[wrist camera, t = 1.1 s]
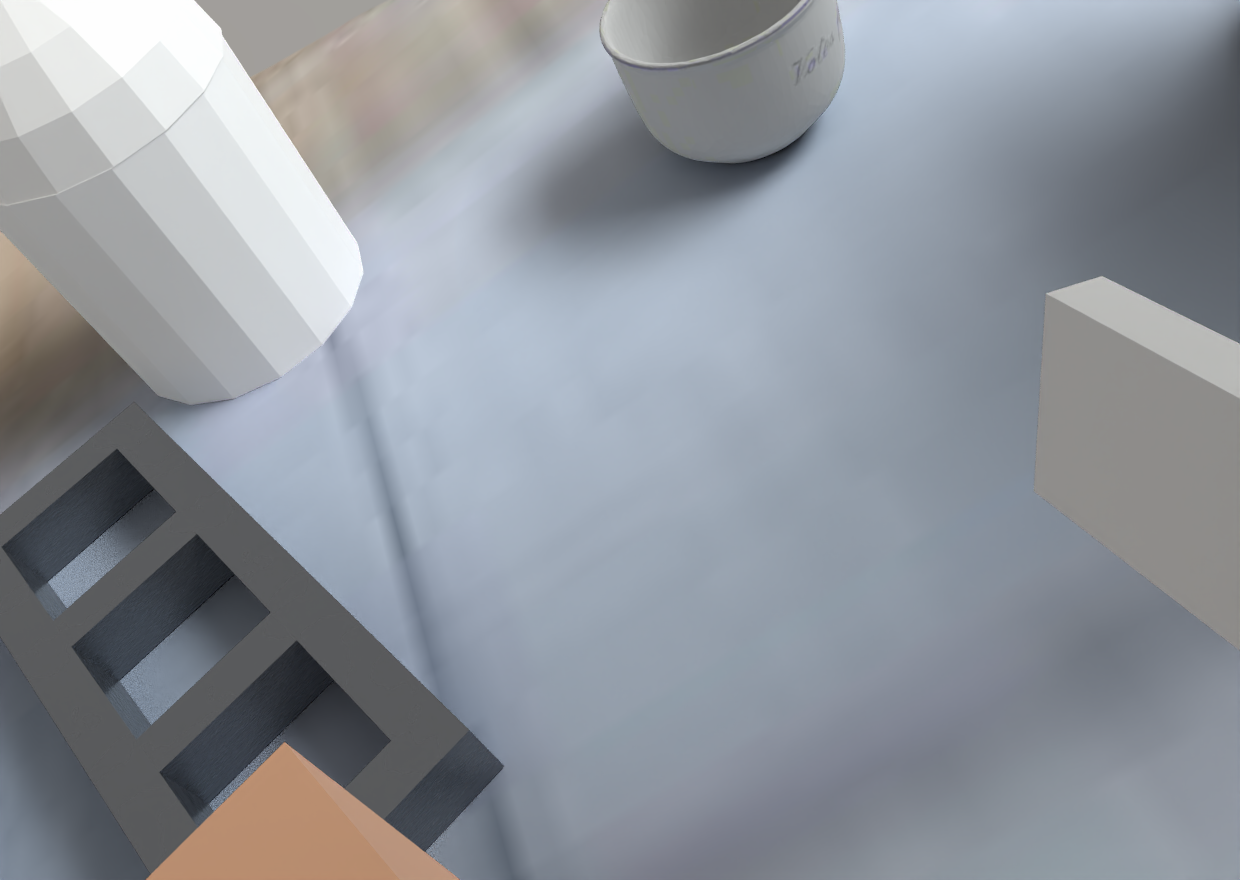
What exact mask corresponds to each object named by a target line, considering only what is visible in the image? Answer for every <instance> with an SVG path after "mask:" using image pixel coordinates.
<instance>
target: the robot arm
mask: <svg viewBox="0 0 1240 880" xmlns="http://www.w3.org/2000/svg"><path fill="white" fill-rule="evenodd" d="M1034 492H1035V493H1037V494H1038V495H1039V496H1040V497H1042V498H1043V499H1044V500H1046V501H1047V502H1048V503H1050V504H1051V505H1052V506H1053V507H1055V508H1056V509H1057V510H1059V511H1060V512H1061V513H1062V514H1064V515H1065V516H1066V517H1068V518H1069V519H1070V520H1072V521H1073V522H1074V523H1075V524H1077V525H1078V526H1079V527H1081V528H1082V529H1083V530H1084V531H1086V532H1087V533H1088V534H1090V535H1091V536H1092V537H1093V538H1095V539H1096V540H1097V541H1099V542H1100V543H1101V544H1103V545H1104V546H1105V547H1106V548H1108V549H1109V550H1110V551H1112V552H1113V553H1114V554H1115V555H1117V556H1118V557H1119V558H1121V559H1122V560H1123V561H1124V562H1126V563H1127V564H1128V565H1130V566H1131V567H1132V568H1134V569H1135V570H1136V571H1137V572H1139V573H1140V574H1141V575H1143V576H1144V577H1145V578H1146V579H1148V580H1149V581H1150V582H1152V583H1153V584H1154V585H1156V586H1157V587H1158V588H1159V589H1161V590H1162V591H1163V592H1165V593H1166V594H1167V595H1168V596H1170V597H1171V598H1172V599H1174V600H1175V601H1176V602H1177V603H1179V604H1180V605H1181V606H1183V607H1184V608H1185V609H1187V610H1188V611H1189V612H1190V613H1192V614H1193V615H1194V616H1196V617H1197V618H1198V619H1199V620H1201V621H1202V622H1203V623H1205V624H1206V625H1207V626H1208V627H1210V628H1211V629H1212V630H1214V631H1215V632H1216V633H1218V634H1219V635H1220V636H1221V637H1223V638H1224V639H1225V640H1227V641H1228V642H1229V643H1230V644H1232V645H1233V646H1234V647H1236V648H1237V649H1238V650H1239V651H1240V344H1239V343H1237V342H1235V341H1233V340H1231V339H1229V338H1227V337H1225V336H1223V335H1221V334H1219V333H1217V332H1215V331H1213V330H1211V329H1209V328H1207V327H1205V326H1203V325H1201V324H1199V323H1197V322H1195V321H1193V320H1191V319H1189V318H1186V317H1184V316H1182V315H1180V314H1178V313H1176V312H1174V311H1172V310H1170V309H1168V308H1166V307H1164V306H1162V305H1160V304H1158V303H1156V302H1154V301H1152V300H1150V299H1148V298H1146V297H1144V296H1142V295H1140V294H1138V293H1136V292H1134V291H1132V290H1130V289H1127V288H1125V287H1123V286H1121V285H1119V284H1117V283H1115V282H1113V281H1111V280H1109V279H1107V278H1105V277H1103V276H1100V277H1097V278H1094V279H1090V280H1087V281H1084V282H1081V283H1077V284H1074V285H1071V286H1068V287H1065V288H1061V289H1058V290H1055V291H1052V292H1048V293H1046V297H1045V313H1044V330H1043V346H1042V363H1041V379H1040V396H1039V412H1038V429H1037V445H1036V462H1035V478H1034Z"/></svg>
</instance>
